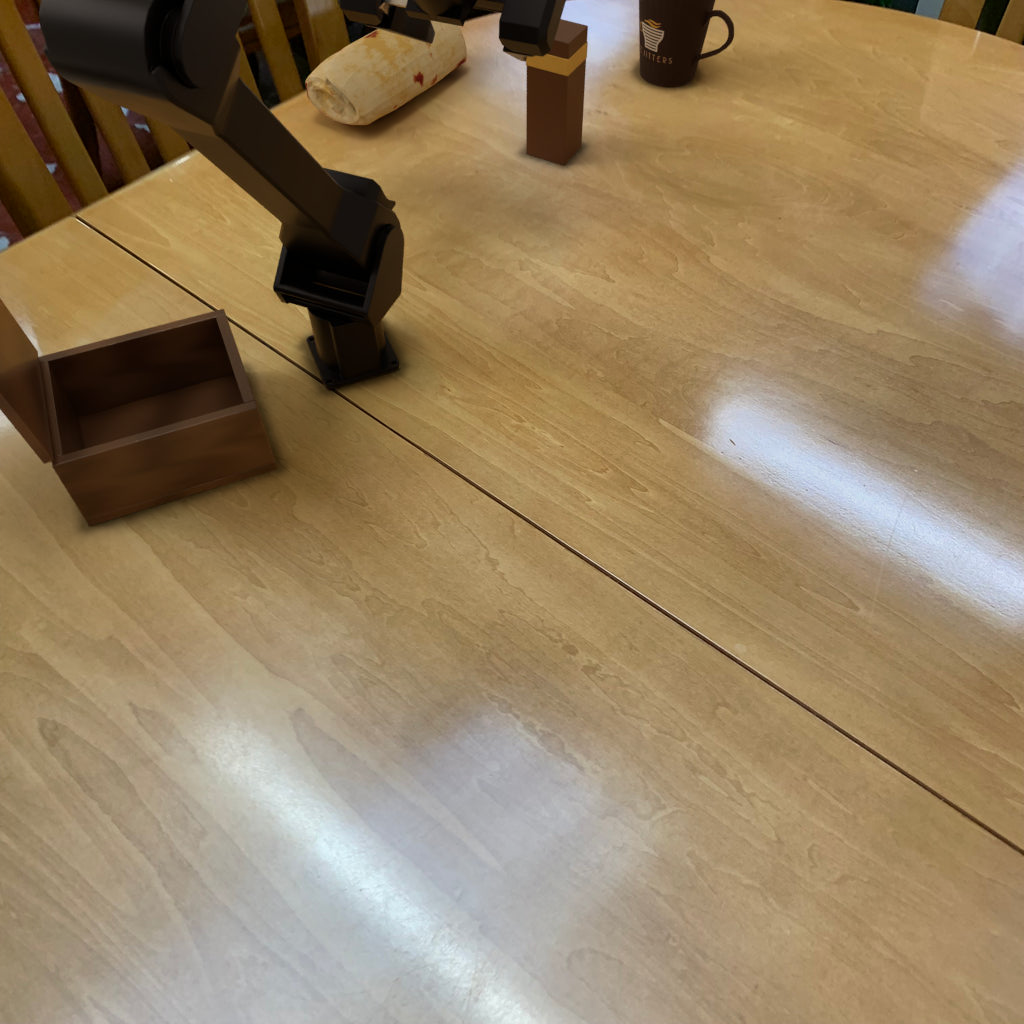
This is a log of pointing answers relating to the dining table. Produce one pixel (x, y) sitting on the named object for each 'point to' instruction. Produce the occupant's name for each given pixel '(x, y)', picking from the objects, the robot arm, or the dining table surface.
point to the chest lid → (23, 386)
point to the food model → (383, 73)
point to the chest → (152, 417)
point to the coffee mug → (675, 39)
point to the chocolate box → (557, 95)
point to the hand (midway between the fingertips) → (478, 47)
